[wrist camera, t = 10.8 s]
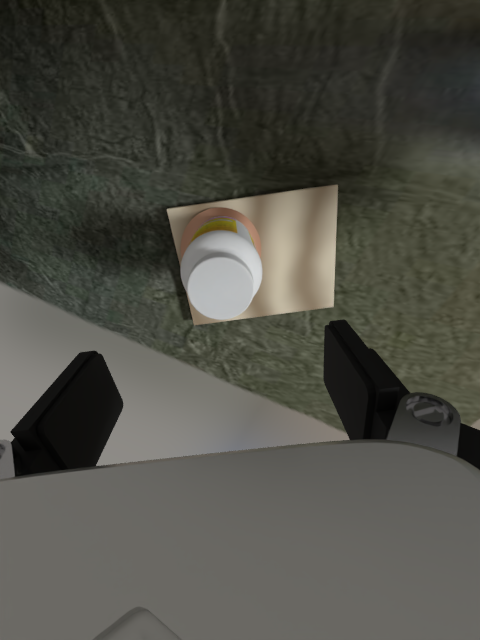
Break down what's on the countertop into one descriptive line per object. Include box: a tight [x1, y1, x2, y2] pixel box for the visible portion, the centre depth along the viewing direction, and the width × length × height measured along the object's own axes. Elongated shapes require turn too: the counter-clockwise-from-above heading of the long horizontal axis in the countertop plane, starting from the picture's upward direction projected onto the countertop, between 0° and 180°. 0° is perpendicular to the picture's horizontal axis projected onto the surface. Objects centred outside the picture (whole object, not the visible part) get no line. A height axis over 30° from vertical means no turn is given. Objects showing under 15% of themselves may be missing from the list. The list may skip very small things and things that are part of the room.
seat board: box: [167, 185, 338, 325], centre depth 32 cm, size 18×14×2 cm
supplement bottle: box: [180, 216, 262, 320], centre depth 24 cm, size 7×7×13 cm
